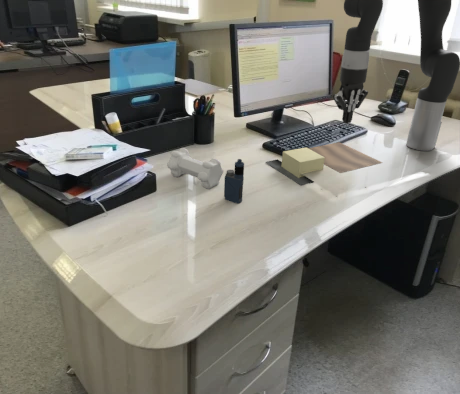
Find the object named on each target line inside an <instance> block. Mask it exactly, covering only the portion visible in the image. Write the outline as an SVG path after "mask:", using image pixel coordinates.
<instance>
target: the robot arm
mask: <svg viewBox="0 0 460 394" xmlns="http://www.w3.org/2000/svg"><path fill="white" fill-rule="evenodd" d="M383 5H384V0H344V2H343V10H344V12H345V14H346V15H347V16H348V17H351V18H357V19H358V18H359V22H358V23H357V26H352V27H349V28H348V29H347V31H346V34H345V41H344V50H343V54H342V56H341V57H342V58H341V66H340V75H339V81H340V85H339V88H338V89H339V90H338V92H337V93H336V94H335V93H333V95H332V99H333V100H334V103H335V105H336V106H337V108H338V109H339V110H342V120H341V121H342V122H343V123H344V124H351V123H352V120H353V116H354V112H355V110H356V109H360V107H361V105H362V104H363V102H364V101H365V99H366V97H367V95H368V94H369V91H368V90H366V89H364V83H365V84H366V81H367V75H368V69H369V62H370V50H371V42H372V36H373V34H374V31H375V28H376V25H377V23H378V21H379V18H380V16H381V13H382V10H383V7H384V6H383ZM417 5H418V8H417V9H418V14H419V15H418V16H419V30H420V52H419V53H420V57H419V59H420V62H419V64H420V70H421V73H423V74H424V75H425V76H426V77H428V78H430V81H429V83H428V86H427V87H422V88H420V89H419V90H418V94H417V97H416V101H415V106H414V110H413V114H412V118H411V123H410V126H409V131H408V133H407V139H406V143H405V144H406V146H407V147H408V148H411V149H413V150H417V151H422V152H423V151H424V152H427V151H428V152H429V151H433V149H434V148H435V147H436V143H437V140H438V137H439V133H440V131H441V127H442V126H441V125H442V123H443V122H442V118H443V115H444V110H445V107H446V104H447V100H448V97H449V96H450V95H451V93H452V91H453V89H454V85H455V83H456V79H457V76H458V74H459V71H460V56H459V55H458V53H456V52H453V51H450V50H445V48H444V44H443V29H444V26H445V25H446V24H445V23H446V22H447V21H448V18H449V15H450V12H451V9H452V0H417Z"/></svg>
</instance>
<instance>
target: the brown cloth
mask: <svg viewBox="0 0 460 394" xmlns="http://www.w3.org/2000/svg"><path fill="white" fill-rule="evenodd" d="M308 148H309V149H310V150H312V151H314V152H316V153H318V154H319V155H321V156H323V157H325V159H324V165H325V166H326V167H328V168H330V169H332V170H334V171H336V172H337V173H339V174H344V173H347V172H350V171H354V170H359V169H363V168H367V167H368V168H369V167H372V166H375V165H376V166H377V165H379V164H383V162H382V161H380V160H378V159H377V158H374V157H372V156H369V155H368V154H365V153H363V152H361V151H359V150H357V149H354V148H353V147H350V146H349V145H346V144H344V143H342V142H339V141H338V142H334V143H328V144H323V145H322V144H321V145H319V146H314V147H308Z"/></svg>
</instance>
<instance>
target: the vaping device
mask: <svg viewBox="0 0 460 394" xmlns="http://www.w3.org/2000/svg"><path fill="white" fill-rule="evenodd" d="M244 171H245V162H244V161H243V160H242V159H241V158H238V159H237V161H235V162H234V170H233V169H227V170H226V173H225V176H224V182H223V183H224V185H223V187H224V188H223V190H224V192H223V197H224V200H225V201H227V202H230V203H233V204H241V203H242V201H243V193H244V192H243V189H244V188H243V187H244V174H245V173H244Z"/></svg>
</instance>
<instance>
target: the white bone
mask: <svg viewBox="0 0 460 394" xmlns="http://www.w3.org/2000/svg"><path fill="white" fill-rule="evenodd" d="M166 166H167V167H166V168H168V169H169V170H170V174H171V175H172V176H173V177H175V178H179V177H181V176H183V175H185V174H186V175H189V176H192V177H194V178H197V179H199V181H200V183H201V186H202V187H203V188H204V189H207V190H209V189H212V187H216V186H218V185H219V184H220V180H221V178H222V176H223V174H224V168H223V167H222V166H221V161H220V160H219V159H217V158H214V157H213V158H210V160H207V161H201V160H199V159H197V158H196V159H195V158H194V157H191V156H190V152H189V150H188V149H186V148H185V147H181V148H179V149H178V150H173V151H171V153H170V157H169V160H168V161H167V164H166Z"/></svg>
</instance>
